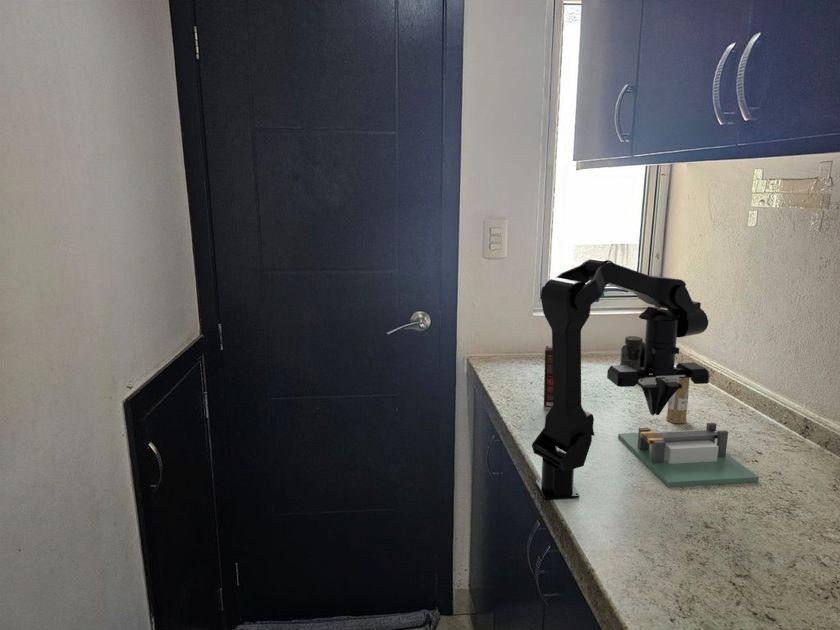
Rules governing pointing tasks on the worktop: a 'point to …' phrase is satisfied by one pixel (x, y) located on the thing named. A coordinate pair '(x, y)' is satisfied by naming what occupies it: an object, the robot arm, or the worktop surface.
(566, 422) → the robot arm
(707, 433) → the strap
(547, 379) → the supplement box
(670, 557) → the worktop surface
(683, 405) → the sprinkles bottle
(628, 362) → the supplement bottle
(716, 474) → the board
